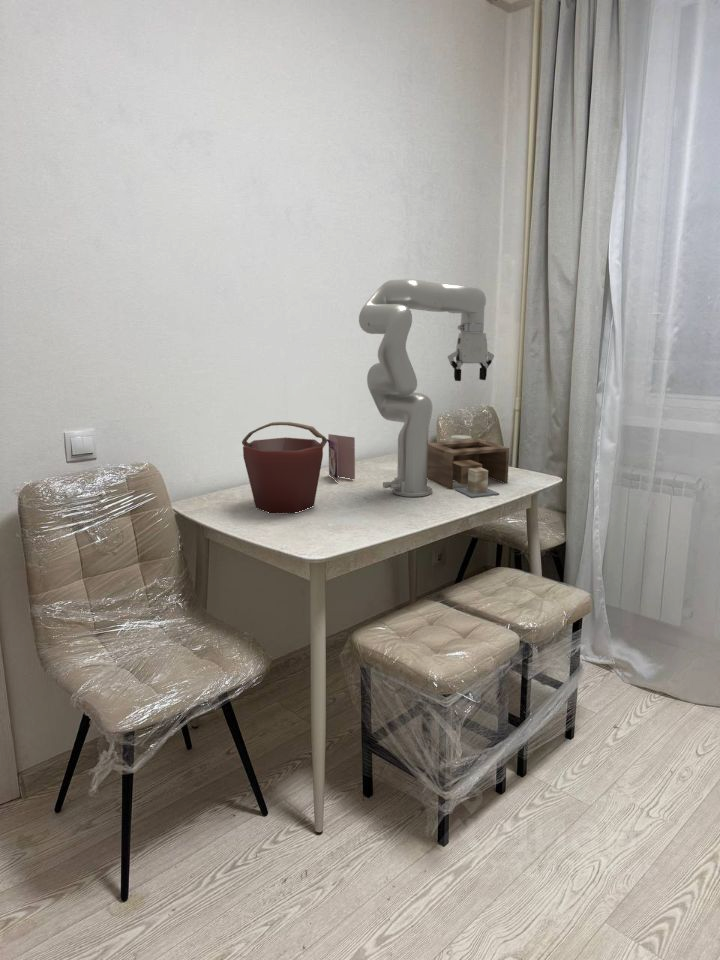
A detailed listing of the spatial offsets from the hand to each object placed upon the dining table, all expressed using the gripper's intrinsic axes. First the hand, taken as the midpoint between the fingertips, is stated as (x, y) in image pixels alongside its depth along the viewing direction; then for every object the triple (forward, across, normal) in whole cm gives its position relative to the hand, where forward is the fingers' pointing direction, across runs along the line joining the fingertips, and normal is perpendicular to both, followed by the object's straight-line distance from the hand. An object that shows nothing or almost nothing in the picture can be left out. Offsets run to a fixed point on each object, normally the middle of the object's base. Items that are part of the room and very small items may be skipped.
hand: (470, 380), depth 227 cm
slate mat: (+33, -9, -22) cm, 41 cm away
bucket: (+34, -70, -15) cm, 79 cm away
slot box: (+33, -4, -6) cm, 34 cm away
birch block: (+33, -9, -22) cm, 40 cm away
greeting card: (+34, -43, +11) cm, 56 cm away
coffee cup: (+34, +3, +10) cm, 35 cm away
